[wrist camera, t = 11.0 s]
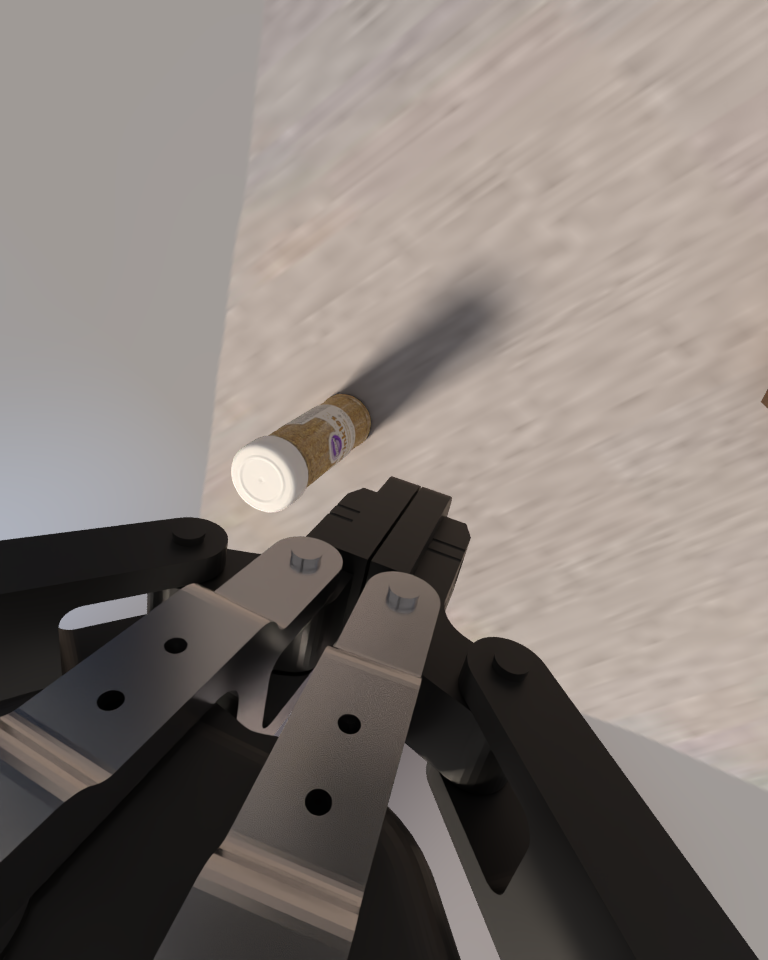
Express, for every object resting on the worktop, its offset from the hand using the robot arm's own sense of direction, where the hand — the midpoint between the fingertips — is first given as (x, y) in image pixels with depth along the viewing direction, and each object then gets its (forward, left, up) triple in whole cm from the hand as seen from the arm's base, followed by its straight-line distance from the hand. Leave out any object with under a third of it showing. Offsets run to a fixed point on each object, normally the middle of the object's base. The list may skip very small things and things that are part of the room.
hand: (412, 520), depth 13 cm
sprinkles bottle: (+10, -12, -29) cm, 33 cm away
